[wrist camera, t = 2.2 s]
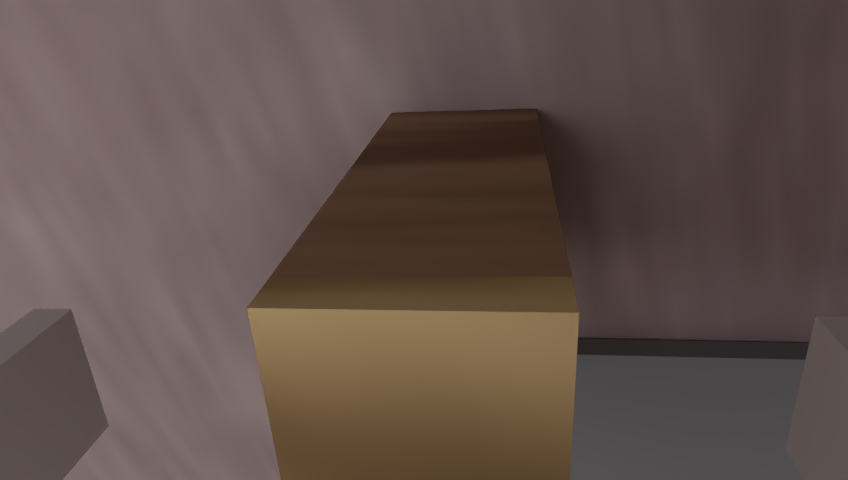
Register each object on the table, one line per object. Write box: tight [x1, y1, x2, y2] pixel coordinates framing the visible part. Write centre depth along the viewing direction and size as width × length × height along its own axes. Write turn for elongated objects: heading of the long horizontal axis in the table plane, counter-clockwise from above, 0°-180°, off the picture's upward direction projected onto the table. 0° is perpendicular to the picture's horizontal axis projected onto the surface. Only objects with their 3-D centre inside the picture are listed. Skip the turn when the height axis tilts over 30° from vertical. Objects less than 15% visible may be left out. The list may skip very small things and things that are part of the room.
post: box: [247, 109, 579, 480], centre depth 15 cm, size 4×4×12 cm
